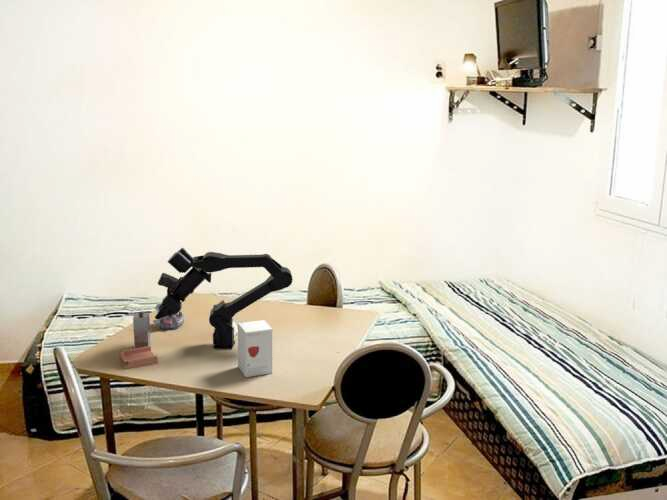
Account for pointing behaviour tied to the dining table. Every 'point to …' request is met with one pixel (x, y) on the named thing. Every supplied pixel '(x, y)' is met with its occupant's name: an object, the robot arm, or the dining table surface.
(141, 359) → the tray
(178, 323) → the brake caliper
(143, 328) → the knobbed tall block
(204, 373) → the dining table surface
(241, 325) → the supplement box
